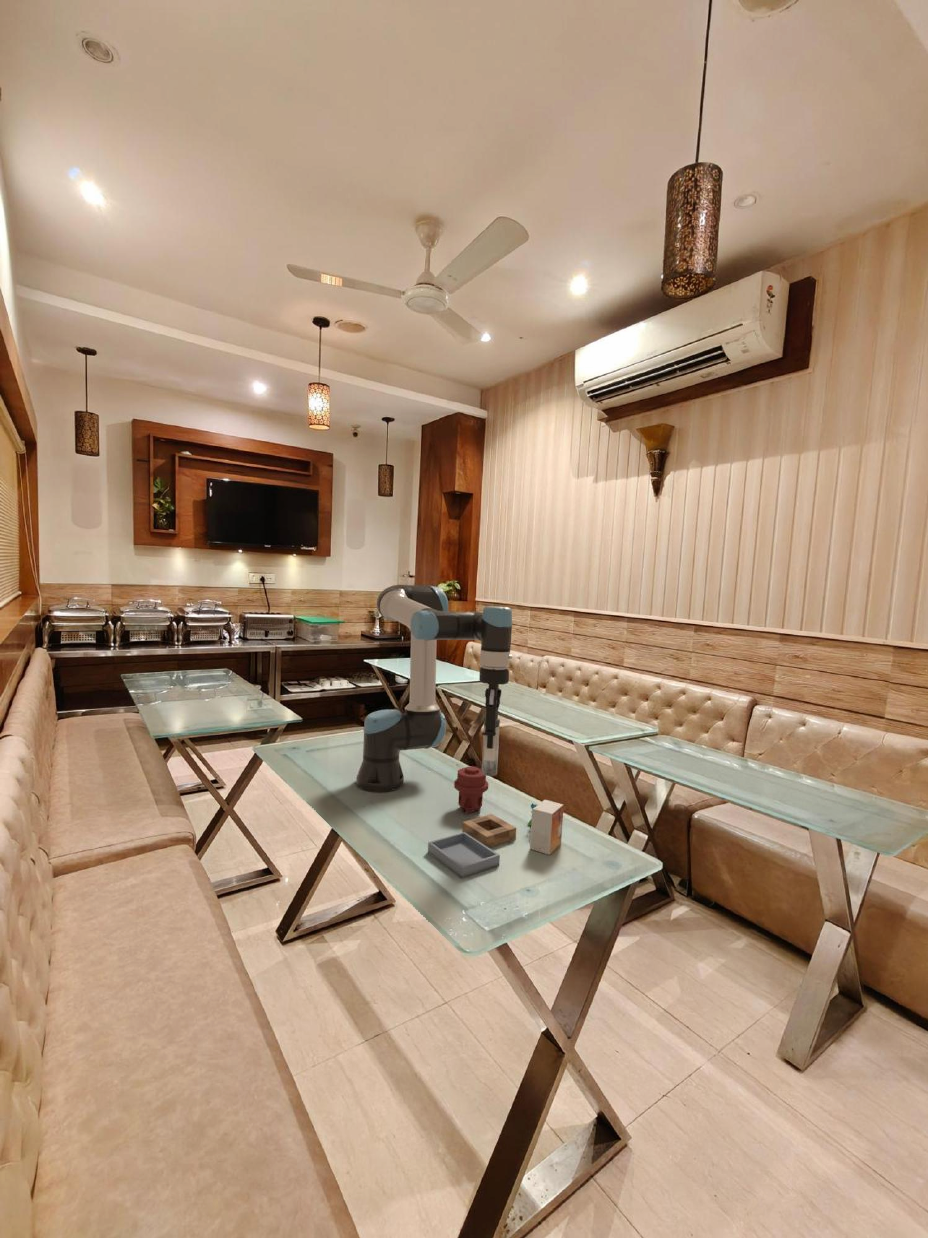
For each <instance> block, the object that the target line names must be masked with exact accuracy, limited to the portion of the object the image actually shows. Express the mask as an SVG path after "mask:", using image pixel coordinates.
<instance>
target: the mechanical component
mask: <svg viewBox="0 0 928 1238" xmlns="http://www.w3.org/2000/svg"><path fill="white" fill-rule="evenodd" d="M453 783H454V784H453V786H454V787H453V788H454V789H455V790H456V791H458V801H457V802H458V803H457V804H458V806H460V807H461V808H462V809H464V811H465V814H467V815H470V814H472V813H474V812H475V811H478V810H481V808H482V807H483V795H484V793H485V792H487V791H488V790H489V782H488V781H487V775H483V774H482V768H478V767H477V766H466V767H462V768H459V769H458V770H457V777H456V778H455V780H454V782H453Z"/></svg>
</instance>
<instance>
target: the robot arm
mask: <svg viewBox="0 0 928 1238" xmlns="http://www.w3.org/2000/svg"><path fill="white" fill-rule="evenodd" d="M449 607H450V606H449V600H448V597H447V594H446V593H445V591H444V590H443V588H441V587H439V586H433V585H414V584H409V585H408V584H394V585H390V586H389V587H386V588H384V589H383V590H382V591H381V592H380V594H379V595H378V597H377V599H376V609H377V611H378V613H379V614H380V616H382V617H383V618H384V619H386V620H388V621H390V622H399V623H400V624H402V625H404V626H406V627H407V628H408V629H409V631H410V662H409V663H410V666H409V671H410V672H409V703H408V704H407V705H406V706H405V707H404V713H403V714H402V712H401V710H399V709H393V708H392V709H380V710H379V709H378V710H377V711H373V712H371V713H369V714H368V715H367V716H366V717H365V719H364V726H363V730H362V731H363V746H362V747H363V748H362V749H363V750H362V753H363V754H362V762H361V764H360V767H359V770H358V772H357V775H356V786H357V787H358V788H359V789H361V790H364V791H368V792H376V793H383V792H385V793H386V792H392V791H396V790H398V789H400V788H402V787H403V786H404V782H405V780H404V779H405V777H404V772H403V768H402V766H401V763H400V762H401V761H400V753H401V751H409V750H419V749H431V748H437V747H438V746H440V744H442V742H443V741H444V738H445V736H446V731H447V721H446V716H445V714H444V713H443V712H441V710H440V706H439V705H438V704H436V690H437V689H436V687H437V686H436V685H437V683H436V682H437V641H441V640H443V641H444V640H445V641H446V640H447V641H449V640H450V641H452V640H453V641H455V640H457V641H460V640H461V641H473V640H474V641H481V643H480V644H481V645H480V652H479V653H480V654H479V655H480V656H479V658H480V659H479V664H480V666H481V667H480V668H479V675H478V676H479V677H478V678H479V682H481V683H482V684H487V685H488V687H487V688H486V689H485V690H484V697H485V704H484V705H485V718H486V724H485V733H484V731H482V736H483V735H485V747H484V760H488V761H495V745H496V718H497V719H499V707H500V705H501V704H500V703H501V697H502V689H500V686H499V685H506V684H509V682H510V669H509V668H508V667H510V660H511V659H513V655H512V654H511V645H512V634H513V633H512V632H513V631H512V630H513V611H512V609H511V608H510V607H507V606H495V605H493V606H492V605H489V606H484V607H483V609H482V612H481V611H478V610H469V611H453V610H452V611H449V609H450V608H449ZM500 728H501V726H500V727H499V731H500Z"/></svg>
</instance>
